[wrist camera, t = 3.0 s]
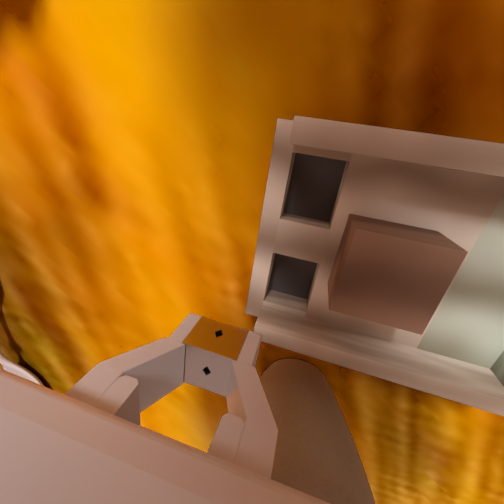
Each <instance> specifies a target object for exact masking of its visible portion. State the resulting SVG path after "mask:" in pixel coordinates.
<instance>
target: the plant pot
mask: <svg viewBox="0 0 504 504" xmlns="http://www.w3.org/2000/svg"><path fill="white" fill-rule="evenodd" d="M259 379H260V381H261V384H262V387H263V390H264V392H265V395H266V398H267V401H268V404H269V406H270V409H271V412H272V415H273V417H274V420H275V423H276V426H277V428H278V435H277V442H276V448H275V454H274V461H273V467H272V474H271V479H272V480H275V481H277V482H279V483H282V484H284V485H287V486H289V487H292V488H294V489H297V490H299V491H301V492H304V493H306V494H309V495H311V496H314V497H316V498H319V499H321V500H323V501H326V502H328V503H331V504H375V501H374V498H373V495H372V492H371V488H370V485H369V482H368V479H367V476H366V473H365V471H364V468H363V465H362V462H361V459H360V457H359V454H358V451H357V448H356V446H355V443H354V441H353V438H352V435H351V433H350V430H349V428H348V425H347V423H346V420H345V418H344V416H343V413H342V411H341V409H340V406H339V404H338V402H337V400H336V398H335V396H334V393H333V391H332V389H331V387H330V385H329V383H328V381H327V379H326V378H325V376H324V375H323V373H322V372H321V371H320V370H319V369H318V368H316V367H315V366H313V365H312V364H310V363H308V362H305V361H303V360H299V359H282V360H278V361H276V362H274V363H272V364H271V365H270V366H269V367H268V368H267V369H266V370H265V372H264V373H263V374H262V375H261V376H260V378H259Z"/></svg>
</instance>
